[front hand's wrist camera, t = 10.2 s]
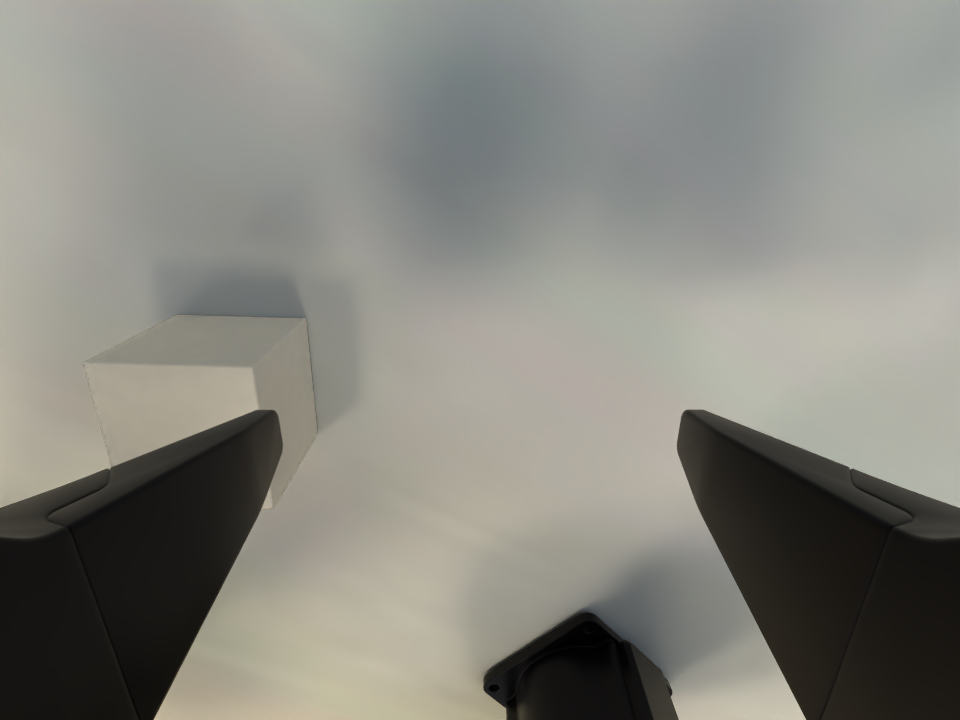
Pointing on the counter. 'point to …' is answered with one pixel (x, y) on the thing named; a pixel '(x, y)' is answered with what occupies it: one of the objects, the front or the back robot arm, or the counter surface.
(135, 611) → the front robot arm
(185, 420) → the light grey cube-like block
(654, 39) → the counter surface
